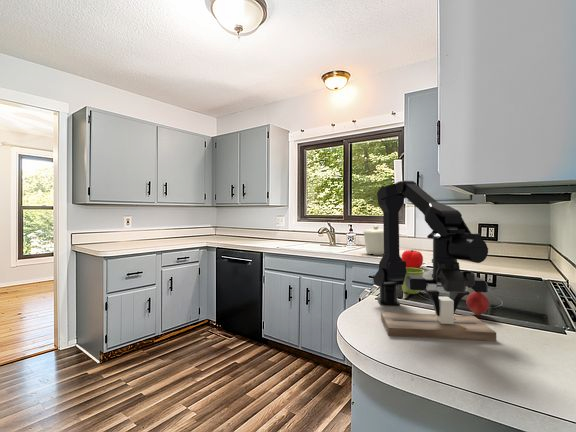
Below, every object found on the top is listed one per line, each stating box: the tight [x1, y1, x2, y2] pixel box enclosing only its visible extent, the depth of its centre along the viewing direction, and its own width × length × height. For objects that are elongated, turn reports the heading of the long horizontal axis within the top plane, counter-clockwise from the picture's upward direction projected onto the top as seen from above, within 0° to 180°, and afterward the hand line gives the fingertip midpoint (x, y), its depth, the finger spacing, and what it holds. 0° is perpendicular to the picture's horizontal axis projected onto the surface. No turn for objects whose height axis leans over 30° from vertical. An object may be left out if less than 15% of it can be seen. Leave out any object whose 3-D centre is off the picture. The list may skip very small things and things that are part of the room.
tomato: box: [401, 249, 424, 269], centre depth 168 cm, size 11×13×10 cm
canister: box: [362, 224, 384, 256], centre depth 222 cm, size 18×18×21 cm
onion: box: [465, 290, 490, 316], centre depth 92 cm, size 6×6×8 cm
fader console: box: [380, 311, 497, 342], centre depth 82 cm, size 12×25×2 cm, turn 82°
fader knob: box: [436, 295, 455, 324], centre depth 81 cm, size 4×3×6 cm
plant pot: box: [401, 267, 425, 295], centre depth 119 cm, size 9×9×9 cm
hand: (444, 315), depth 81 cm, fingers closed on fader knob, 3 cm apart
